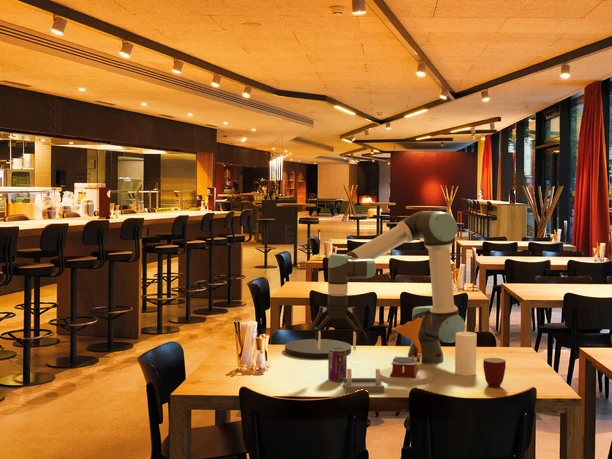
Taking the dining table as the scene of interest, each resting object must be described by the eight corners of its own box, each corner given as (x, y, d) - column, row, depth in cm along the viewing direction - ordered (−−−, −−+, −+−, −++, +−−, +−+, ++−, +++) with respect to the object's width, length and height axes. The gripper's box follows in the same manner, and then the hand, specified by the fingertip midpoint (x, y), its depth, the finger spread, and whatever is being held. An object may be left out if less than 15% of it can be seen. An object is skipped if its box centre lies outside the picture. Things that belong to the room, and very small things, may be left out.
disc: (363, 350, 350) (363, 343, 350) (329, 362, 325) (329, 356, 325) (307, 342, 366) (307, 336, 366) (271, 354, 341) (271, 347, 341)
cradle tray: (380, 384, 289) (380, 365, 289) (384, 392, 278) (384, 373, 277) (343, 384, 289) (343, 365, 289) (345, 392, 277) (345, 373, 277)
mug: (476, 382, 292) (476, 356, 291) (495, 381, 294) (496, 355, 293) (489, 389, 282) (489, 363, 281) (509, 388, 283) (509, 362, 283)
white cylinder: (477, 371, 309) (477, 332, 308) (474, 376, 301) (475, 336, 300) (456, 369, 312) (457, 331, 311) (453, 374, 304) (454, 334, 303)
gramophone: (433, 373, 307) (434, 311, 305) (430, 386, 287) (431, 320, 285) (383, 370, 311) (383, 309, 310) (376, 383, 292) (376, 318, 290)
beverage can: (345, 382, 292) (345, 351, 291) (326, 381, 293) (326, 350, 292) (347, 378, 299) (347, 347, 298) (329, 377, 300) (330, 346, 299)
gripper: (369, 293, 298) (368, 347, 299) (305, 292, 297) (304, 346, 298) (371, 296, 290) (370, 351, 291) (305, 295, 290) (304, 350, 291)
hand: (336, 349), depth 295 cm, fingers open, 13 cm apart
